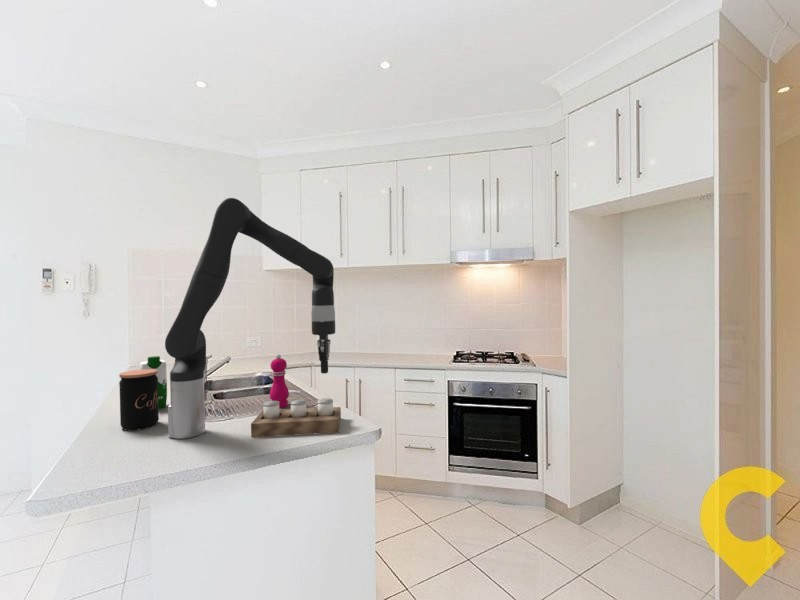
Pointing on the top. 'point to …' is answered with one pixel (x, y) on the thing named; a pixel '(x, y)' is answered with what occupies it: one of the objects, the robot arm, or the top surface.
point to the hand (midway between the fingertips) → (324, 372)
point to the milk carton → (162, 377)
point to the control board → (296, 423)
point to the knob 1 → (271, 410)
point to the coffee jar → (139, 399)
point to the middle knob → (298, 408)
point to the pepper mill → (279, 382)
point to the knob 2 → (325, 407)
